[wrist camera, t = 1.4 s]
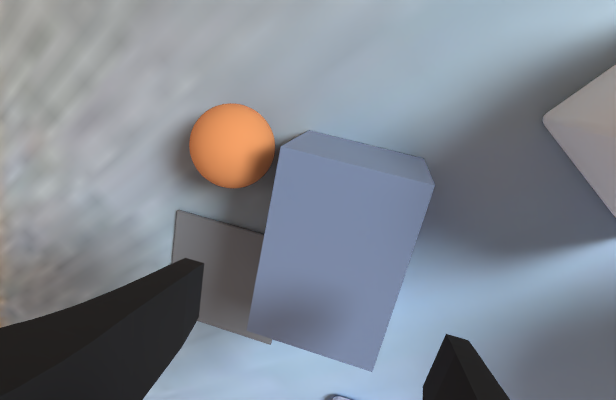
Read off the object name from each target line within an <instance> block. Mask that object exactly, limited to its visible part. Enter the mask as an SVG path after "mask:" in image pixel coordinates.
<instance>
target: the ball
mask: <svg viewBox="0 0 616 400" xmlns="http://www.w3.org/2000/svg"><path fill="white" fill-rule="evenodd" d="M189 147H190V154H191V158H192V161H193V163H194V165H195V167H196V168H197V170H198V171H199V172H200V174H201V175H202V176H203V177H205V178H206V179H207V180H208V181H210V182H212V183H213V184H215V185H218V186H221V187H225V188H242V187H246V186H249V185H251V184H253V183H255V182H257V181H258V180H259V179H261V178H262V177H263V176H264V175H265V174H266V172H267V171H268V170H269V168H270V166H271V164H272V161H273V158H274V154H275V141H274V136H273V133H272V130H271V128H270V126H269V124H268V123H267V122H266V120H265V119H264V118H263V117H262V116H261V115H260V114H259V113H258V112H256V111H255V110H253V109H251V108H249V107H247V106H244V105H240V104H222V105H218V106H215V107H213V108H211V109H209V110H208V111H206V112H205V113H204V114H203V115H201V117H200V118H199V119H198V120H197V122H196V123H195V125H194V127H193V129H192V132H191V135H190V142H189Z"/></svg>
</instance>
